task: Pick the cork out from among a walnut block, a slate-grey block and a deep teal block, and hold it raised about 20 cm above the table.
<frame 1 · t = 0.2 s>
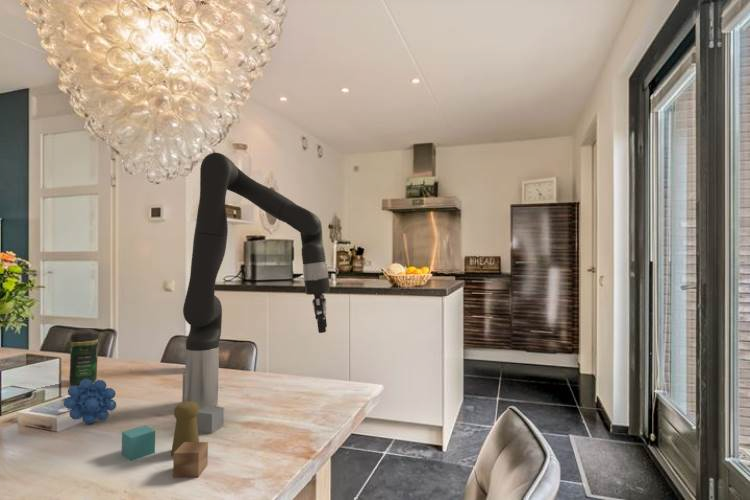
hand: (323, 330, 129), 22 cm above the table, tool pointing down, fingers open, 8 cm apart
deep teal block: (138, 453, 94), on the table
blue knobby flower: (90, 425, 110), on the table
coffee jar: (83, 383, 147), on the table
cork: (185, 452, 95), on the table
slate-grey block: (209, 429, 108), on the table
walnut block: (190, 471, 87), on the table
fruit juice: (203, 370, 165), on the table
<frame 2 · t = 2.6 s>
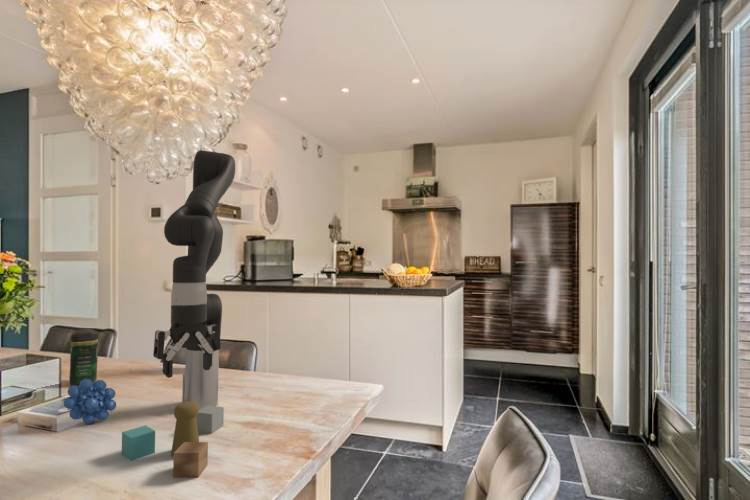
hand: (188, 373, 96), 18 cm above the table, tool pointing down, fingers open, 8 cm apart
nothing on the table moved.
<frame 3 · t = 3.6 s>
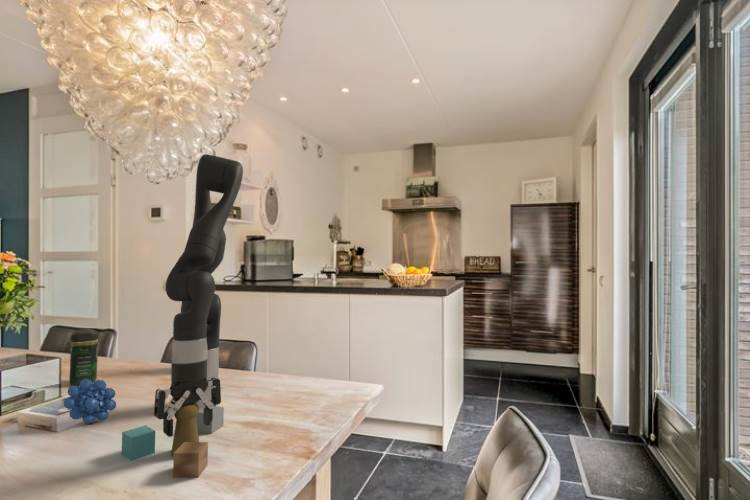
hand: (188, 429, 95), 5 cm above the table, tool pointing down, fingers open, 8 cm apart
nothing on the table moved.
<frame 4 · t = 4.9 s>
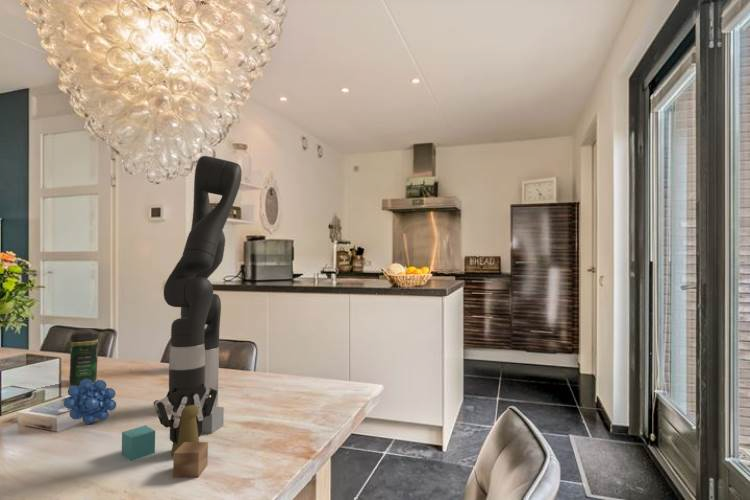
hand: (185, 439, 95), 3 cm above the table, tool pointing down, fingers closed on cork, 4 cm apart
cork: (185, 452, 95), on the table, touching gripper
everything else where it was.
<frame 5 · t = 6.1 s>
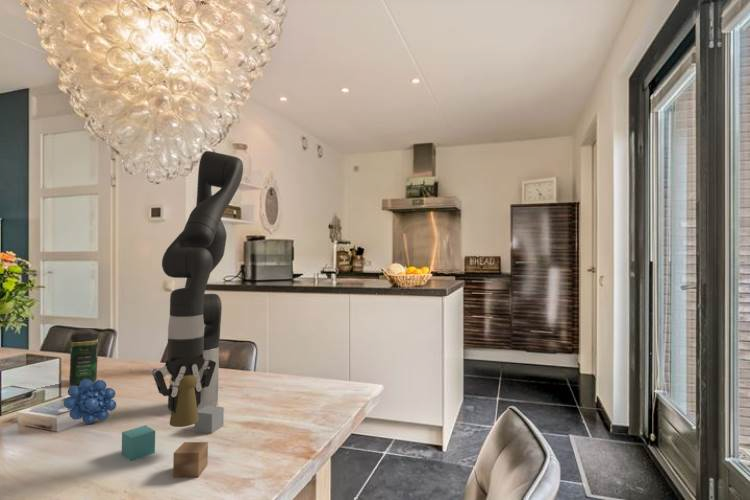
hand: (184, 409, 96), 10 cm above the table, tool pointing down, fingers closed on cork, 4 cm apart
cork: (184, 422, 96), point 7 cm above the table, touching gripper
everything else where it was.
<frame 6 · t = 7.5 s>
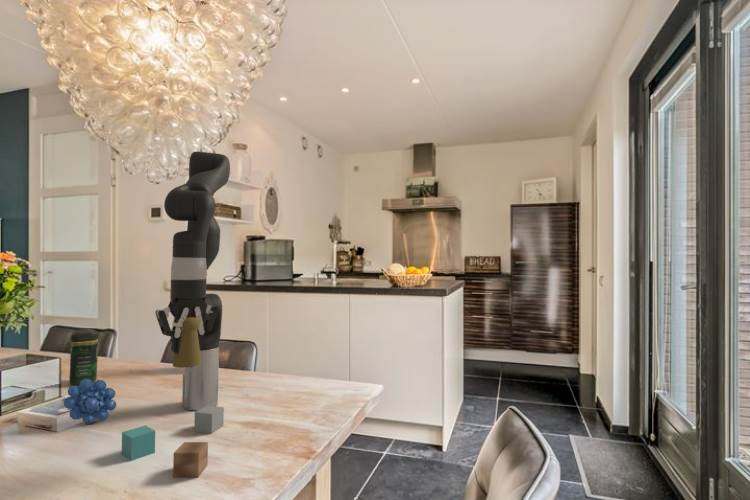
hand: (187, 351, 96), 23 cm above the table, tool pointing down, fingers closed on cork, 4 cm apart
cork: (187, 365, 96), point 20 cm above the table, touching gripper
everything else where it was.
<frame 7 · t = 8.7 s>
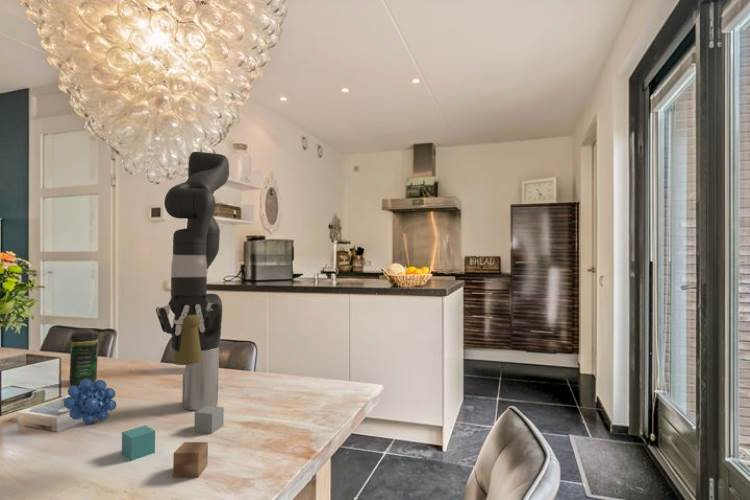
hand: (187, 349, 96), 23 cm above the table, tool pointing down, fingers closed on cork, 4 cm apart
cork: (187, 362, 96), point 20 cm above the table, touching gripper
everything else where it was.
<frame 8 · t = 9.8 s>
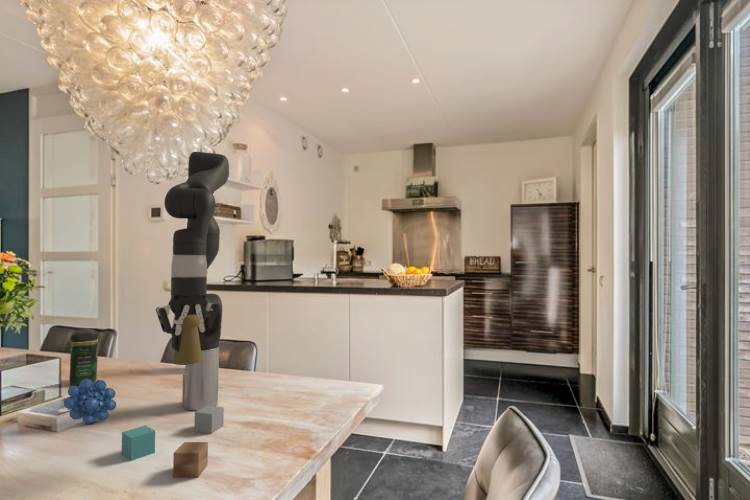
hand: (187, 349, 96), 23 cm above the table, tool pointing down, fingers closed on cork, 4 cm apart
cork: (187, 362, 96), point 20 cm above the table, touching gripper
everything else where it was.
at the end: the gripper is holding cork; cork point 20.2 cm above the table; walnut block moved 0.1 cm from its start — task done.
